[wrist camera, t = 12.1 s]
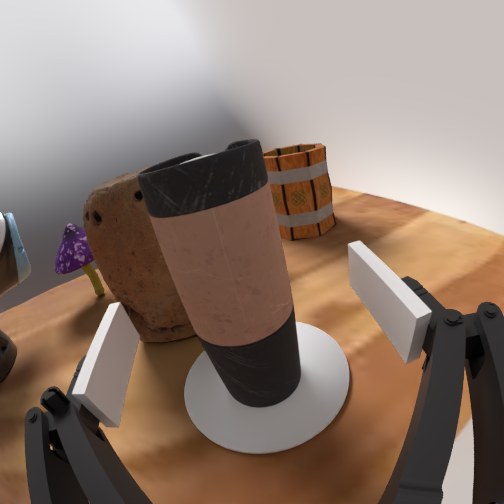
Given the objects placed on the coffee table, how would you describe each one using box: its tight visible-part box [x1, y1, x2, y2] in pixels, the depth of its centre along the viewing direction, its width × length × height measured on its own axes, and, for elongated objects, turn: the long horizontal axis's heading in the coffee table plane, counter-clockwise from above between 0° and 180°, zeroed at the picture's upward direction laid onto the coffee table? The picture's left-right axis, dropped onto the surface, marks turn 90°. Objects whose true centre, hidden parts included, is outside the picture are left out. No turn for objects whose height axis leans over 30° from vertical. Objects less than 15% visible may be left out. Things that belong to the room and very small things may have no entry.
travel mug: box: [137, 139, 301, 408], centre depth 20 cm, size 8×8×20 cm
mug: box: [263, 144, 336, 241], centre depth 53 cm, size 20×14×15 cm
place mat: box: [184, 322, 349, 454], centre depth 24 cm, size 16×16×1 cm
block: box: [83, 167, 196, 342], centre depth 30 cm, size 11×8×20 cm
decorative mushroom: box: [54, 224, 104, 295], centre depth 43 cm, size 12×12×15 cm
